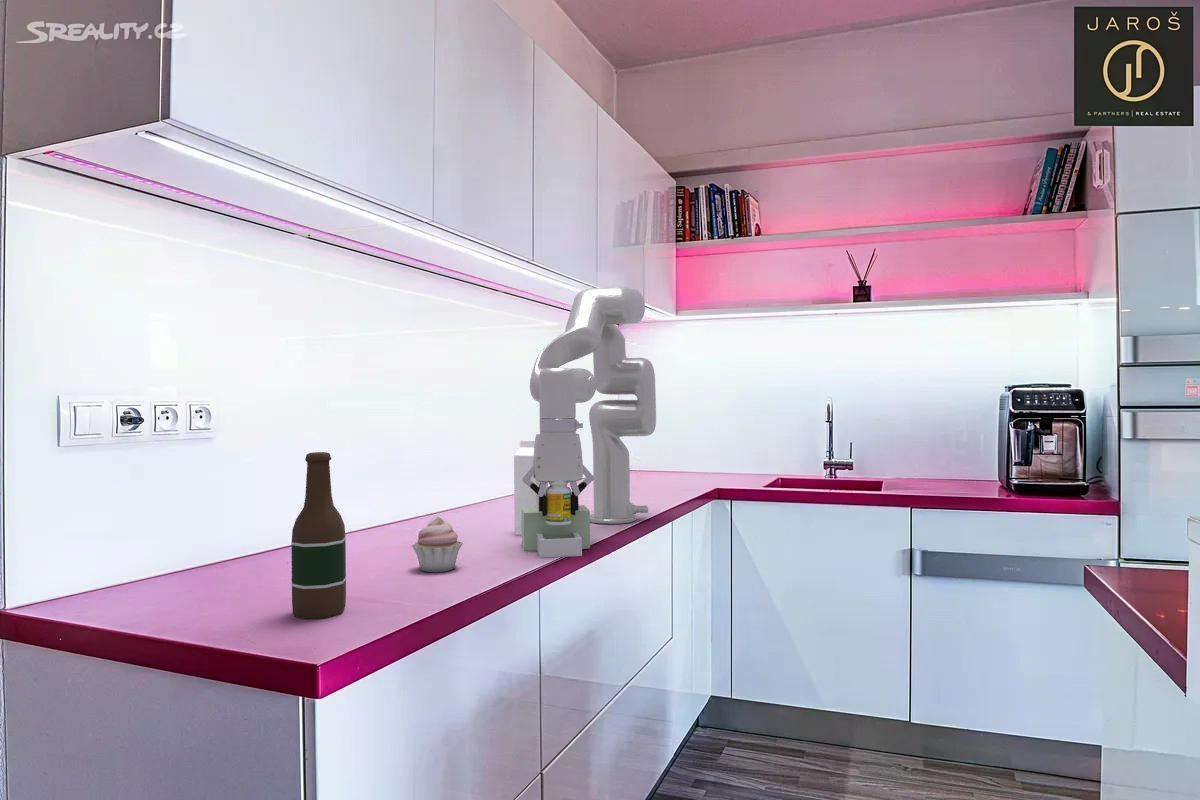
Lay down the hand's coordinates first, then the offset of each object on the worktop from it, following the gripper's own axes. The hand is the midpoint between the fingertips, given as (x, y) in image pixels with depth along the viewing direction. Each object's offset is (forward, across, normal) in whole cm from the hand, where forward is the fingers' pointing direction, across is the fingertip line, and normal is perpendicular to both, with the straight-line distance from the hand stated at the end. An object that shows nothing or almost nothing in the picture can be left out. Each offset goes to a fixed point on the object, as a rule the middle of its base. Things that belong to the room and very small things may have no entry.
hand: (558, 513), depth 158 cm
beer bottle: (+8, +40, +38) cm, 56 cm away
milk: (+8, +4, -24) cm, 26 cm away
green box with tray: (+8, 0, -4) cm, 9 cm away
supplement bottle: (+2, 0, 0) cm, 2 cm away
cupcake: (+8, +24, +11) cm, 28 cm away
